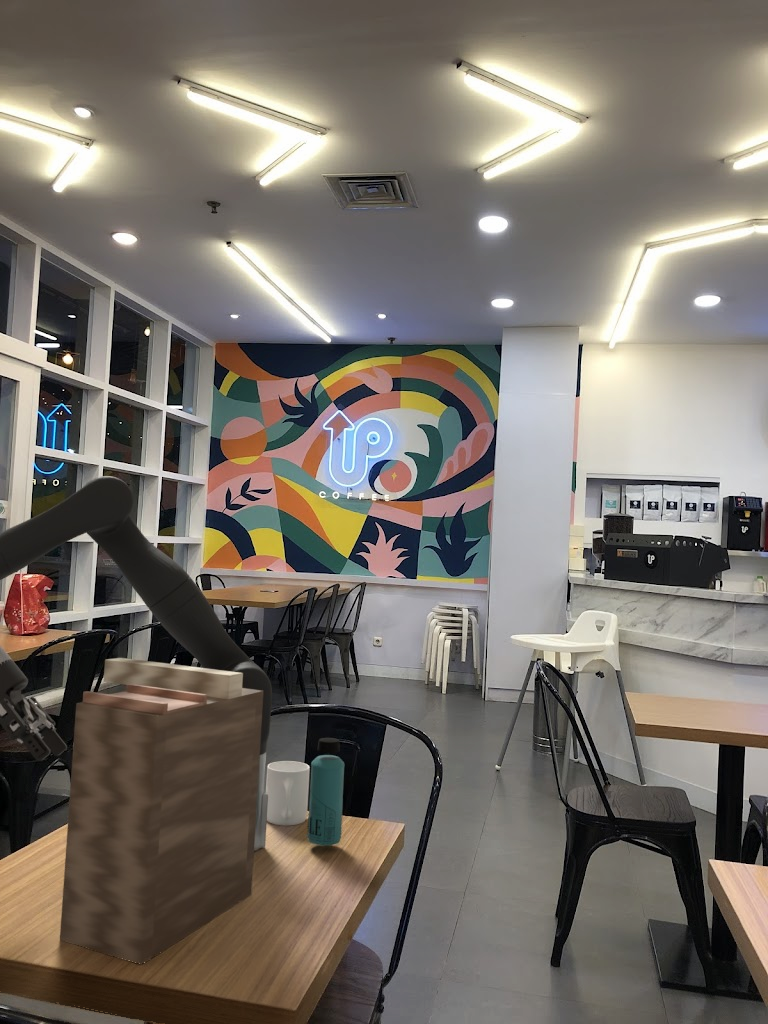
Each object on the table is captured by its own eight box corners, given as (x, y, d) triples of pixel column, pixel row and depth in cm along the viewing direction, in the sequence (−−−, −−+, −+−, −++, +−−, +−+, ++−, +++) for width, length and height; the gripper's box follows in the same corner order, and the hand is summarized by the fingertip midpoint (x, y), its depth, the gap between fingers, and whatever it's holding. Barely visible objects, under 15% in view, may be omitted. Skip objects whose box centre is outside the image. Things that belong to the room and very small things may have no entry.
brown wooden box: (59, 939, 114) (77, 693, 116) (179, 876, 138) (192, 672, 139) (141, 965, 108) (158, 705, 110) (251, 894, 132) (263, 681, 134)
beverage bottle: (346, 845, 157) (352, 737, 158) (332, 856, 150) (338, 744, 151) (314, 839, 159) (320, 733, 160) (299, 850, 153) (306, 740, 154)
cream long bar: (103, 681, 134) (105, 659, 135) (118, 679, 138) (120, 657, 138) (228, 699, 125) (229, 675, 125) (241, 696, 128) (243, 672, 128)
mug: (263, 832, 162) (266, 775, 162) (264, 812, 174) (267, 760, 174) (307, 832, 163) (310, 776, 163) (306, 813, 175) (309, 761, 175)
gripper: (-8, 656, 124) (60, 741, 122) (25, 658, 138) (86, 734, 136) (-51, 690, 122) (17, 777, 121) (-14, 689, 136) (48, 766, 135)
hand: (54, 754), depth 128 cm, fingers open, 8 cm apart
